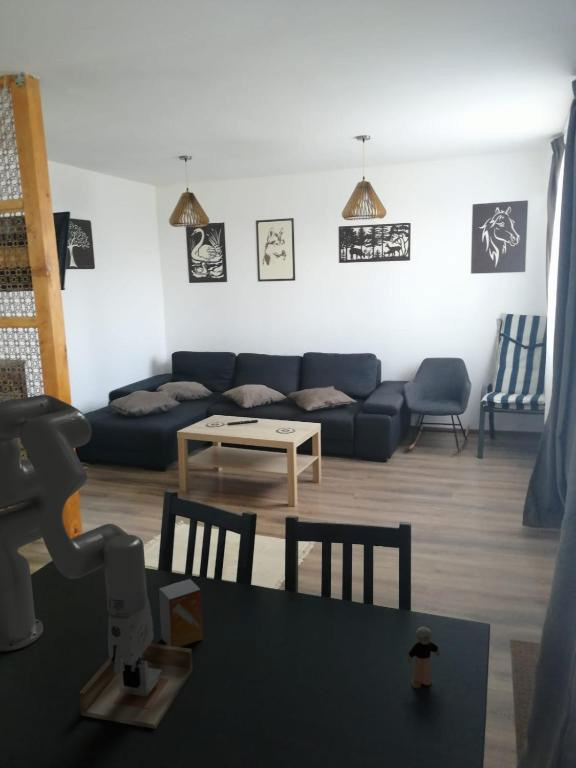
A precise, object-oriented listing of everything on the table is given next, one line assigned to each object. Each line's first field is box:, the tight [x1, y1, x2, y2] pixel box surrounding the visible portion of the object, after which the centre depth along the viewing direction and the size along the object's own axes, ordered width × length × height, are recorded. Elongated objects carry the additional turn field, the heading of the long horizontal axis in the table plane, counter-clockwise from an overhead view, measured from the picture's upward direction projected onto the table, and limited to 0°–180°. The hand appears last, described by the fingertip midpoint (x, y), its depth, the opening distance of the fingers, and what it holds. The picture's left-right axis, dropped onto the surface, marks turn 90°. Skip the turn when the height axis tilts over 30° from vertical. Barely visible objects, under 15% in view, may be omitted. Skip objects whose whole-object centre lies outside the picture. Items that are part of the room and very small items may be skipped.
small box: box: [158, 578, 203, 648], centre depth 143 cm, size 8×6×13 cm
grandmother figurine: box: [405, 626, 441, 689], centre depth 126 cm, size 8×4×13 cm, turn 117°
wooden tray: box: [78, 642, 194, 730], centre depth 126 cm, size 16×18×5 cm
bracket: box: [118, 660, 163, 697], centre depth 124 cm, size 7×6×7 cm
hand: (133, 683), depth 121 cm, fingers closed on bracket, 1 cm apart
